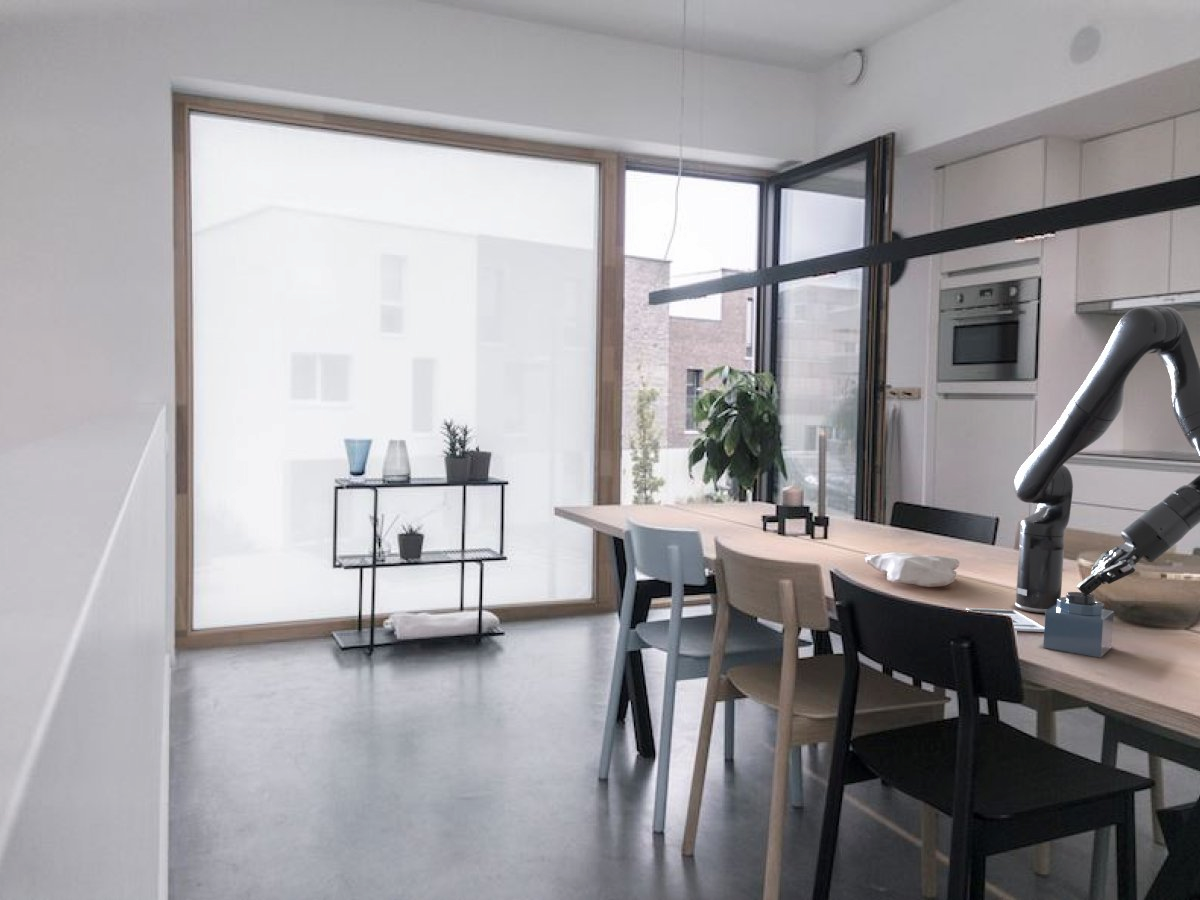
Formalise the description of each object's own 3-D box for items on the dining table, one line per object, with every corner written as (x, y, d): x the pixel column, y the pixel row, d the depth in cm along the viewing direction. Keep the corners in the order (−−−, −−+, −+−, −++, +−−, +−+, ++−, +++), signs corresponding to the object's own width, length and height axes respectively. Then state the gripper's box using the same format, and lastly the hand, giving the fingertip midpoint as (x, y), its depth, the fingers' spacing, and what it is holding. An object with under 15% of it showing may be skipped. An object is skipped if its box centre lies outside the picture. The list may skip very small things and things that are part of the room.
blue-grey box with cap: (1056, 638, 198) (1059, 593, 197) (1111, 647, 192) (1114, 601, 191) (1043, 647, 190) (1046, 601, 189) (1100, 657, 184) (1103, 609, 183)
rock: (877, 586, 243) (859, 573, 273) (975, 592, 241) (946, 578, 270) (878, 554, 243) (860, 545, 273) (976, 559, 241) (947, 550, 271)
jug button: (1069, 599, 194) (1070, 590, 194) (1097, 603, 191) (1098, 594, 191) (1063, 603, 190) (1063, 594, 190) (1091, 607, 187) (1092, 598, 187)
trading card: (1048, 632, 202) (1014, 612, 220) (1048, 629, 202) (1014, 609, 220) (995, 630, 203) (965, 610, 221) (995, 627, 203) (965, 607, 221)
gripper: (1129, 512, 194) (1058, 570, 197) (1153, 521, 181) (1076, 583, 184) (1157, 541, 193) (1085, 599, 196) (1182, 552, 180) (1105, 613, 183)
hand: (1081, 591), depth 190 cm, fingers closed
